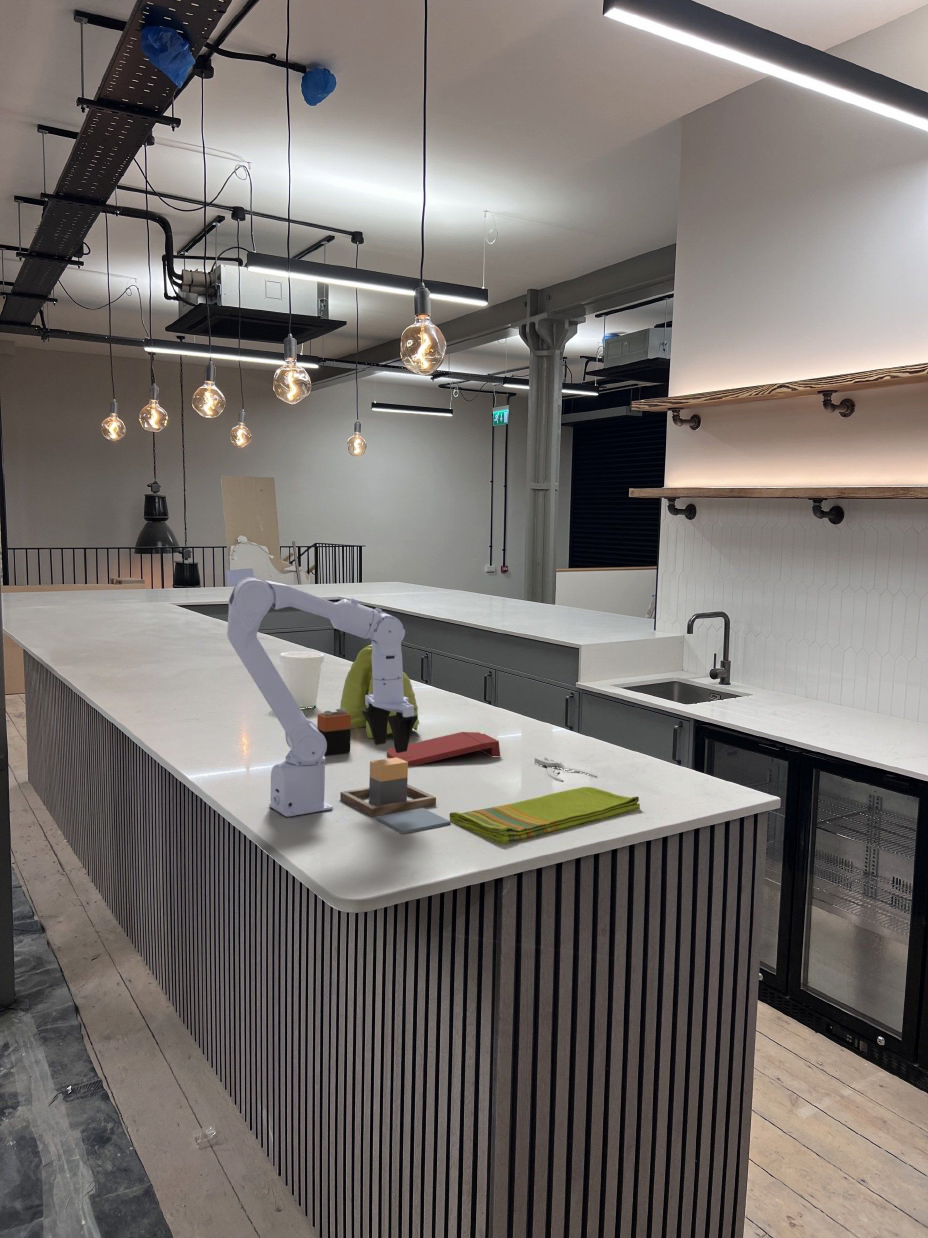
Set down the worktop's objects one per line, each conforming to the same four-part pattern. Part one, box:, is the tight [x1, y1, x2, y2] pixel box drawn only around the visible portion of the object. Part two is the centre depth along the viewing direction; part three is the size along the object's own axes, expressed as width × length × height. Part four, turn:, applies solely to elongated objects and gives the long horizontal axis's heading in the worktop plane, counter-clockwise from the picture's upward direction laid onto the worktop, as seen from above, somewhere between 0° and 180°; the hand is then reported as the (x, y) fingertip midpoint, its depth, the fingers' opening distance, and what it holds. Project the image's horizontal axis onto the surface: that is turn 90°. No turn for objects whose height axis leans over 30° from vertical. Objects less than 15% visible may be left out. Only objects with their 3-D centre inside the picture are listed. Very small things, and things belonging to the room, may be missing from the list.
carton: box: [386, 731, 501, 767], centre depth 206 cm, size 12×5×25 cm
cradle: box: [339, 783, 437, 818], centre depth 169 cm, size 14×12×2 cm
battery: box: [316, 708, 352, 756], centre depth 205 cm, size 4×7×10 cm, turn 126°
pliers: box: [534, 756, 598, 782], centre depth 197 cm, size 10×2×15 cm
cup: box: [279, 651, 325, 708], centre depth 257 cm, size 12×12×15 cm
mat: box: [375, 807, 452, 835], centre depth 159 cm, size 10×9×1 cm
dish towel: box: [449, 786, 641, 845], centre depth 165 cm, size 15×36×3 cm, turn 129°
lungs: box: [339, 644, 420, 739], centre depth 230 cm, size 25×16×24 cm, turn 34°
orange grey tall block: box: [368, 757, 409, 806], centre depth 169 cm, size 6×4×8 cm, turn 126°
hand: (390, 747), depth 169 cm, fingers open, 7 cm apart
